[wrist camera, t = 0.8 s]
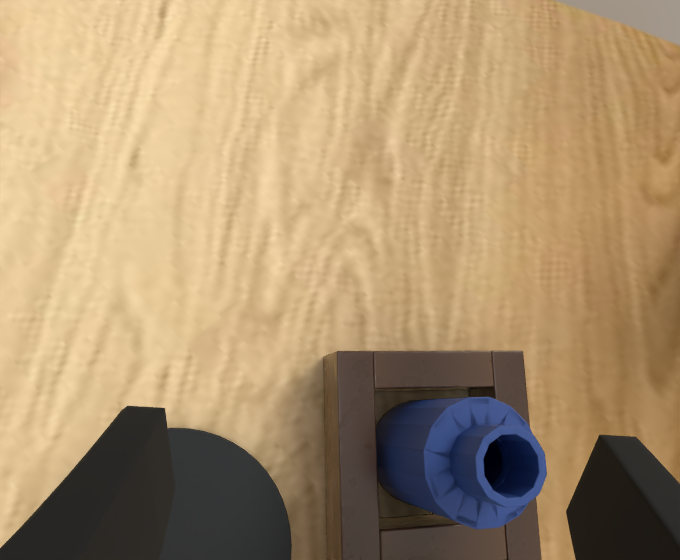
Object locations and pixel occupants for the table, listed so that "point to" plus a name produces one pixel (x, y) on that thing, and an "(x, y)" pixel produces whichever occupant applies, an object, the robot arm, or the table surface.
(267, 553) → the coaster
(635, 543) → the robot arm
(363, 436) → the bottle rack
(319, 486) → the table surface
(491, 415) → the blue bottle
